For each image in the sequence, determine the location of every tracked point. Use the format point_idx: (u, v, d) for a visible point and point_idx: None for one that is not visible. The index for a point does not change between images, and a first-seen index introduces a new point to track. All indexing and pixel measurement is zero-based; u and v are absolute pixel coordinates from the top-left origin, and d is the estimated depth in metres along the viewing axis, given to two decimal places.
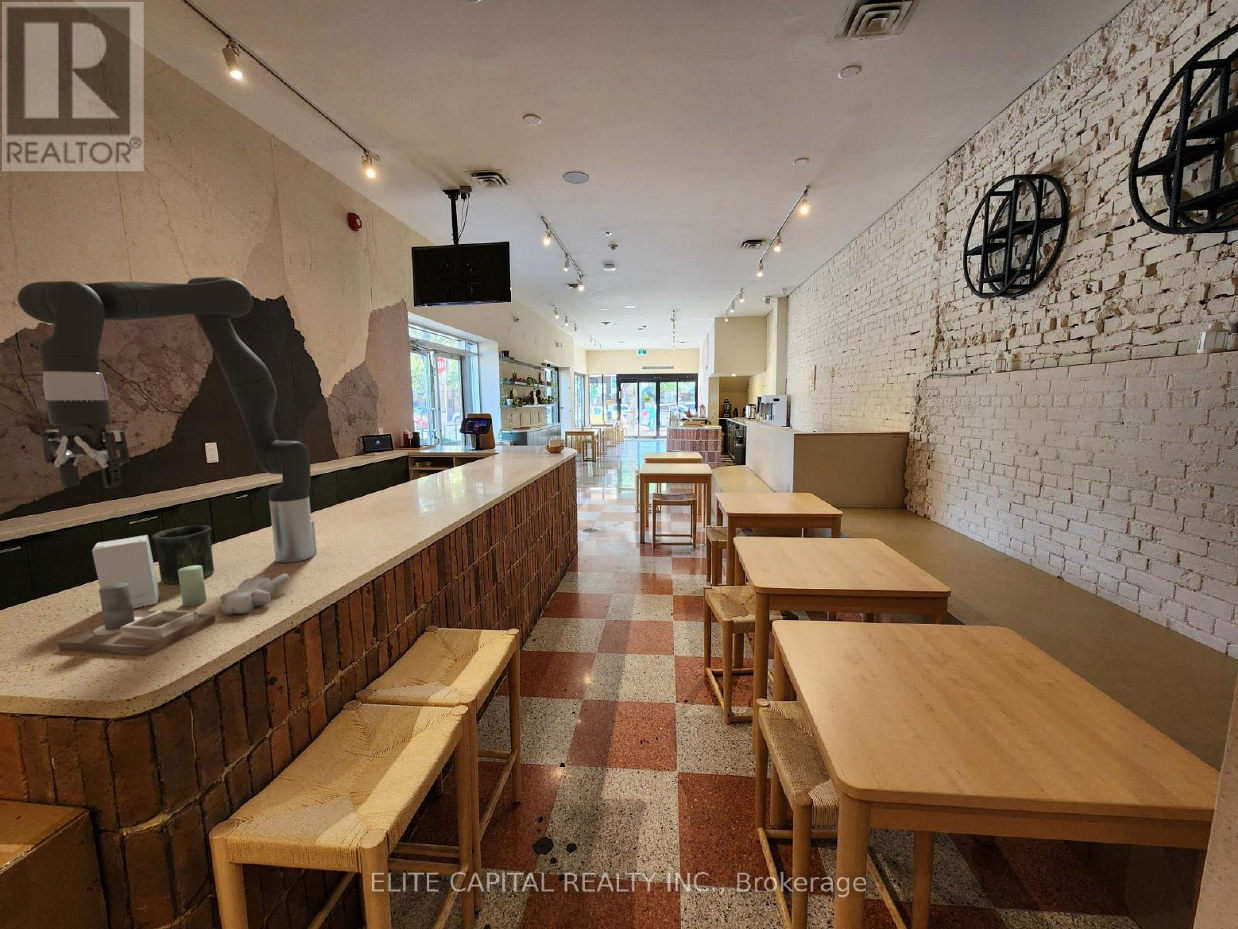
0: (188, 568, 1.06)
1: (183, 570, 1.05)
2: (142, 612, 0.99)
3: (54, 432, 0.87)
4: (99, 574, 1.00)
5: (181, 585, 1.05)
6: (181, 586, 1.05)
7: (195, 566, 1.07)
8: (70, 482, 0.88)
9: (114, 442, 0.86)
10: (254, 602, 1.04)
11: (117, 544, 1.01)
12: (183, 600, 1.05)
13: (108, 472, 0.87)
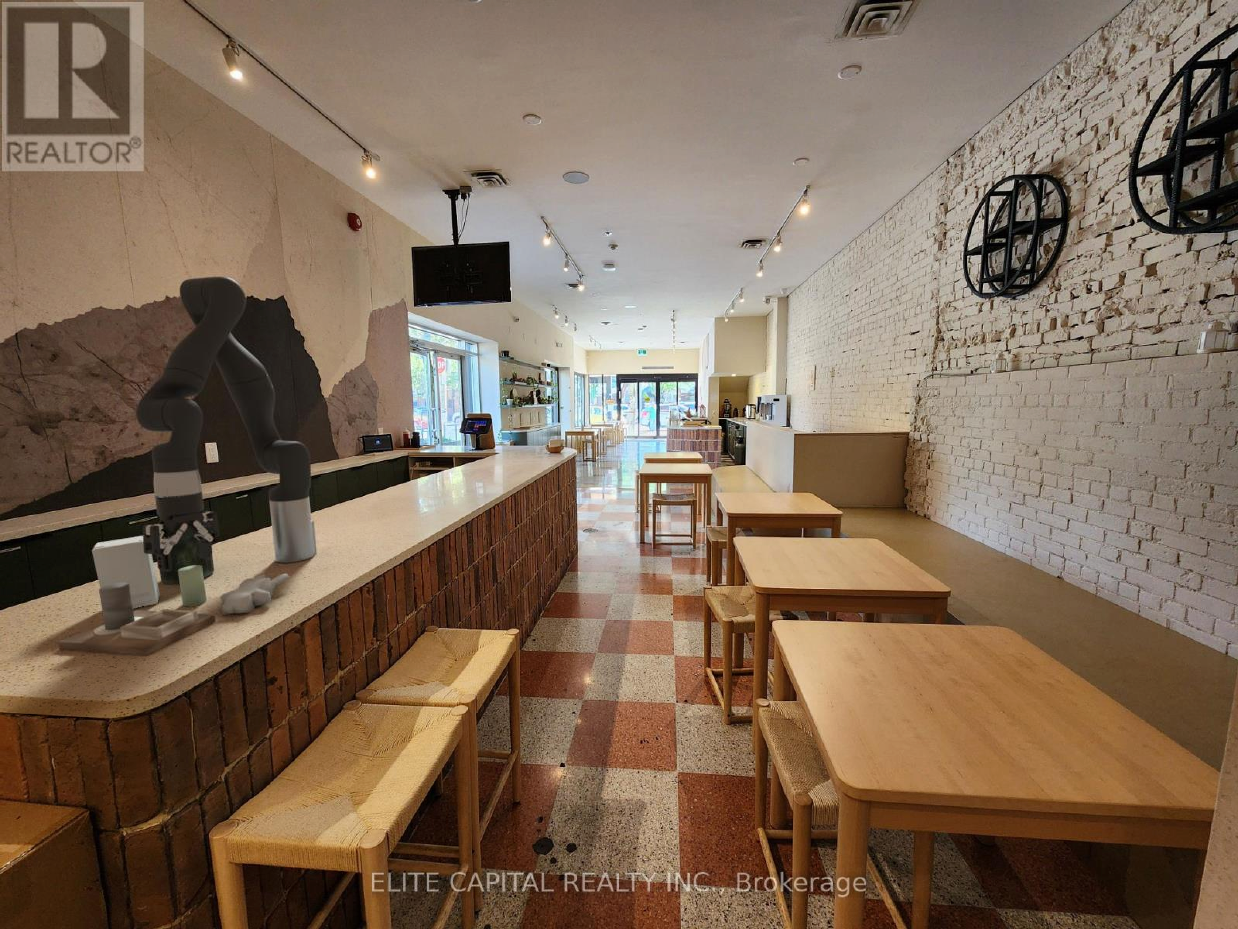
0: (188, 568, 1.06)
1: (183, 570, 1.05)
2: (142, 612, 0.99)
3: (157, 526, 0.99)
4: (99, 574, 1.00)
5: (181, 585, 1.05)
6: (181, 586, 1.05)
7: (195, 566, 1.07)
8: None
9: None
10: (254, 602, 1.04)
11: (117, 544, 1.01)
12: (183, 600, 1.05)
13: (209, 545, 1.10)
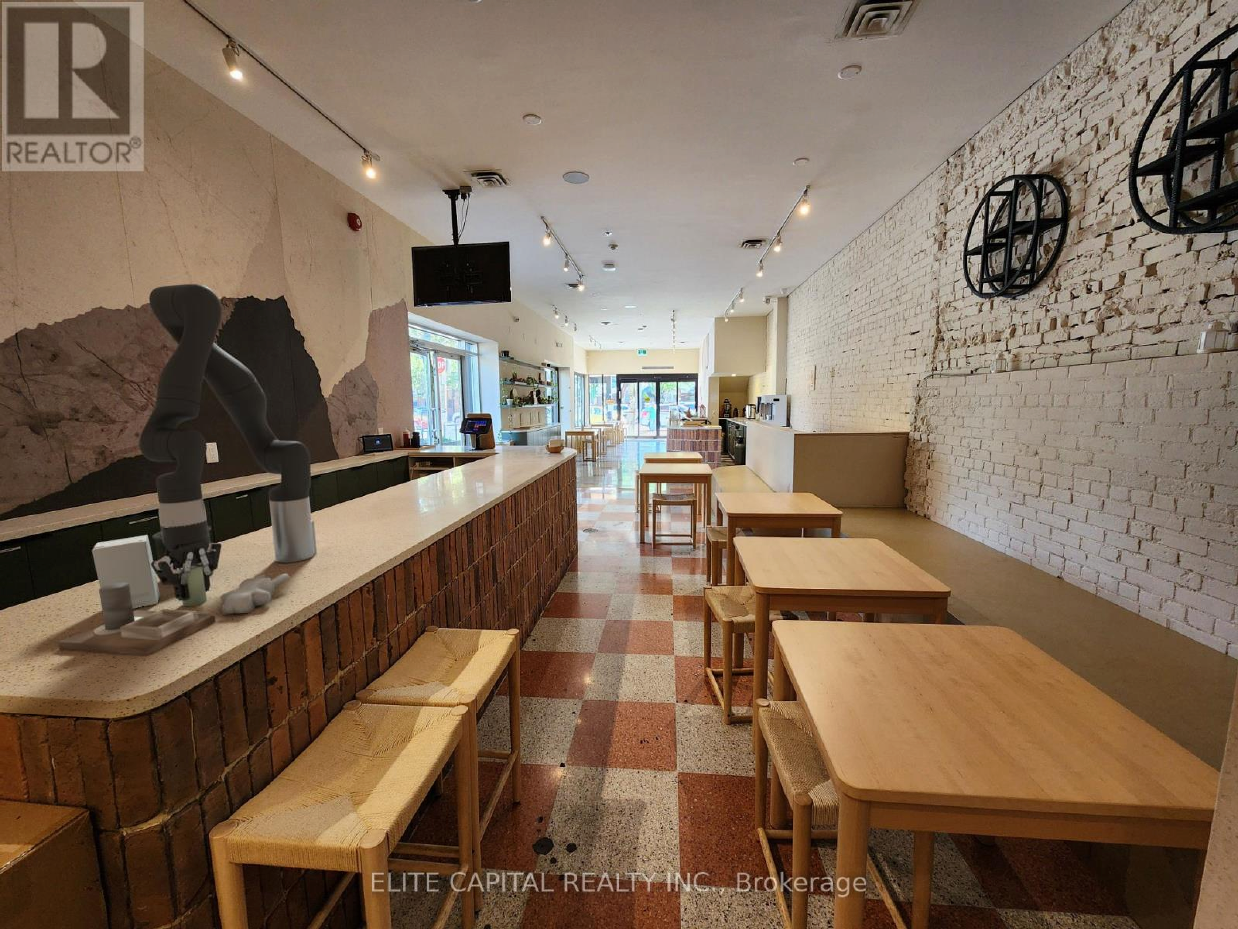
0: None
1: None
2: (142, 612, 0.99)
3: (164, 560, 1.00)
4: (99, 574, 1.00)
5: None
6: None
7: (195, 566, 1.07)
8: None
9: None
10: (254, 602, 1.04)
11: (117, 544, 1.01)
12: None
13: (207, 578, 1.09)
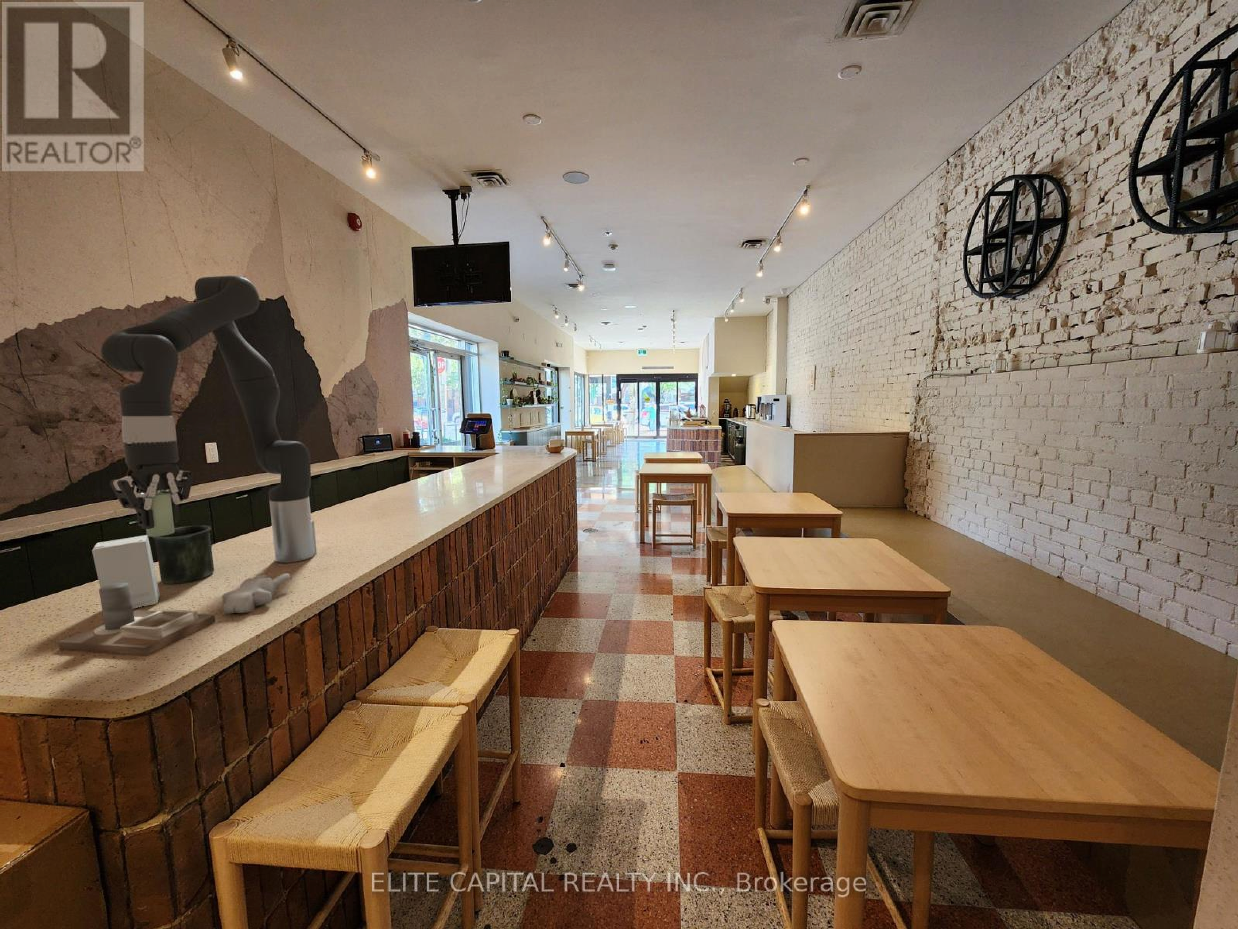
0: None
1: None
2: (142, 612, 0.99)
3: (125, 479, 0.89)
4: (99, 574, 1.00)
5: None
6: None
7: (162, 493, 0.96)
8: None
9: None
10: (255, 601, 1.04)
11: (117, 544, 1.01)
12: (147, 529, 0.94)
13: (176, 508, 0.98)
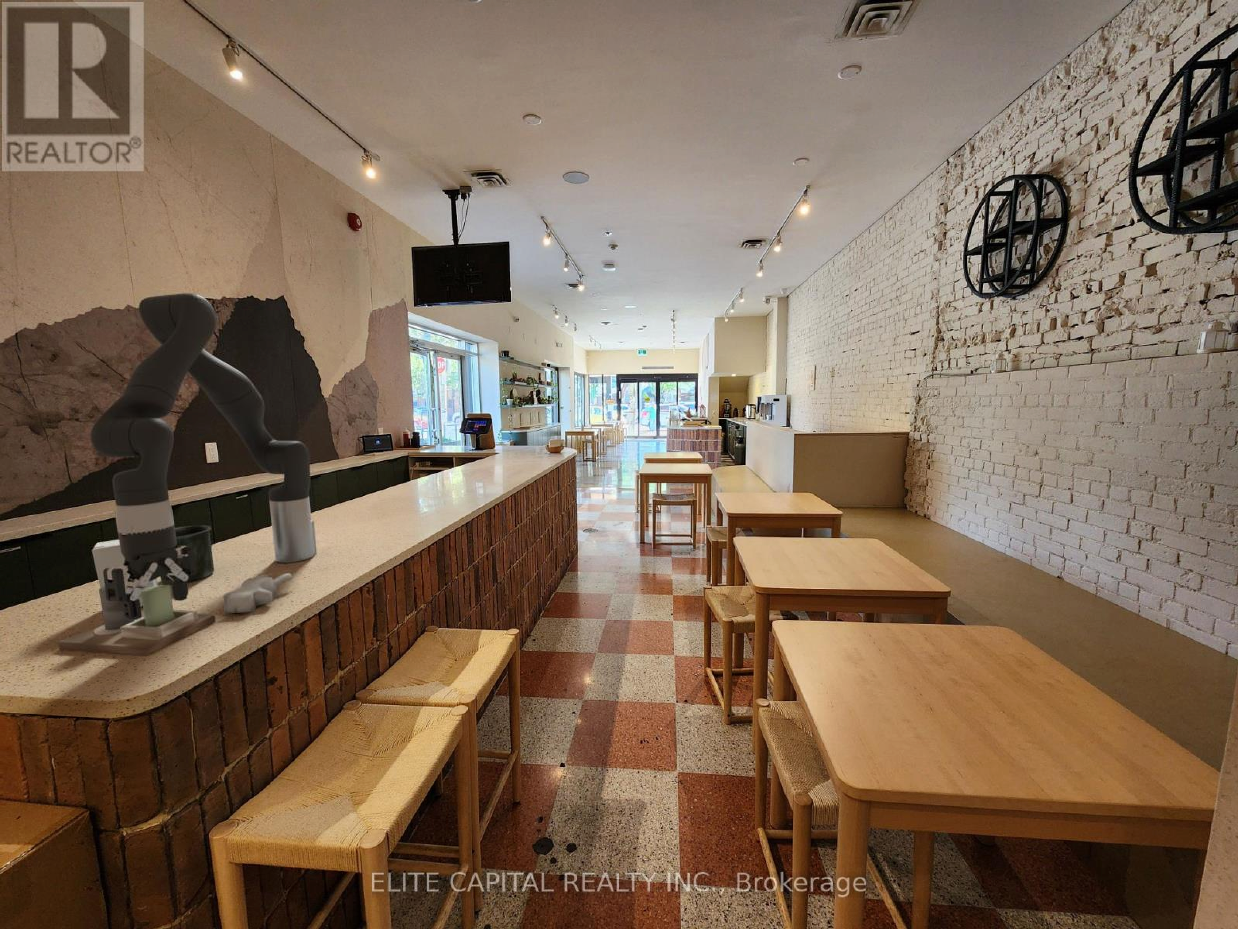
0: (153, 588, 0.91)
1: (147, 591, 0.90)
2: (142, 612, 0.99)
3: (120, 568, 0.85)
4: (99, 574, 1.00)
5: (144, 609, 0.90)
6: (144, 610, 0.90)
7: (161, 587, 0.92)
8: None
9: None
10: (256, 601, 1.05)
11: (117, 544, 1.01)
12: (147, 626, 0.90)
13: (184, 585, 0.96)
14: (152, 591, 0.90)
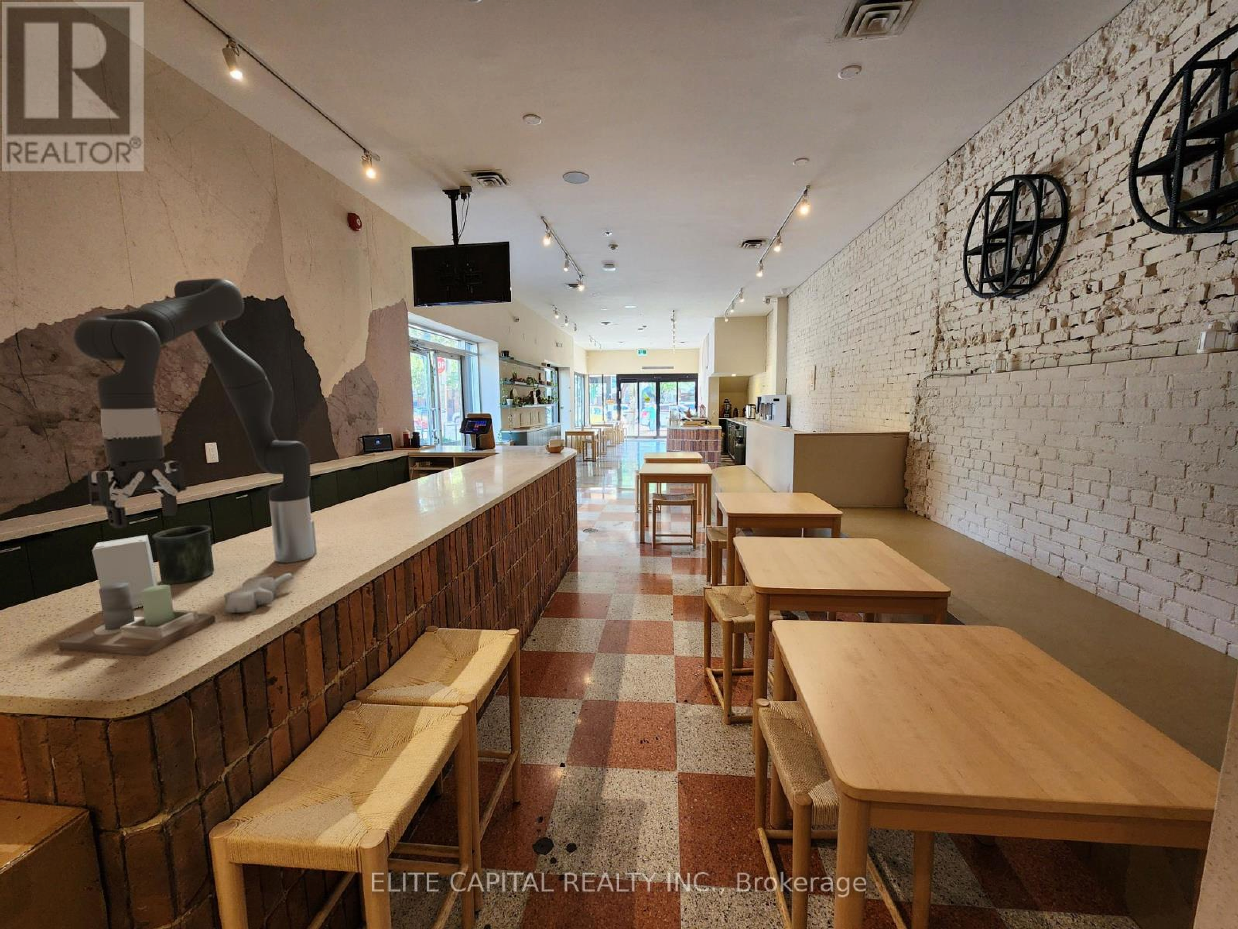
0: (153, 588, 0.91)
1: (147, 591, 0.90)
2: (142, 612, 0.99)
3: None
4: (99, 574, 1.00)
5: (144, 609, 0.90)
6: (144, 610, 0.90)
7: (161, 587, 0.92)
8: None
9: None
10: (256, 601, 1.05)
11: (117, 544, 1.01)
12: (147, 626, 0.90)
13: (174, 500, 0.93)
14: (152, 591, 0.90)
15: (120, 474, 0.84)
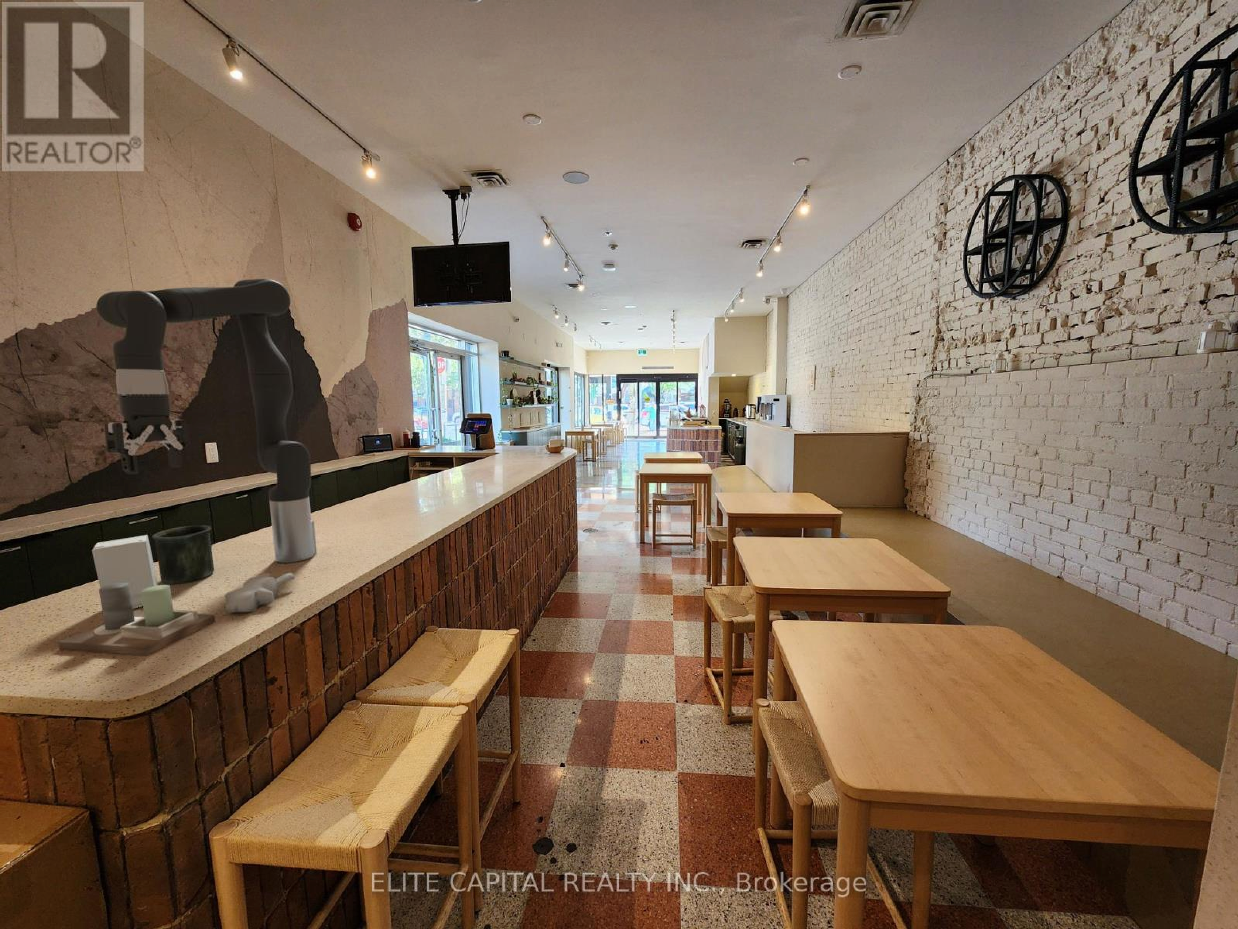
0: (153, 588, 0.91)
1: (147, 591, 0.90)
2: (142, 612, 0.99)
3: None
4: (99, 574, 1.00)
5: (144, 609, 0.90)
6: (144, 610, 0.90)
7: (161, 587, 0.92)
8: None
9: None
10: (257, 601, 1.05)
11: (117, 544, 1.01)
12: (147, 626, 0.90)
13: (179, 454, 1.05)
14: (152, 591, 0.90)
15: (132, 426, 0.96)
